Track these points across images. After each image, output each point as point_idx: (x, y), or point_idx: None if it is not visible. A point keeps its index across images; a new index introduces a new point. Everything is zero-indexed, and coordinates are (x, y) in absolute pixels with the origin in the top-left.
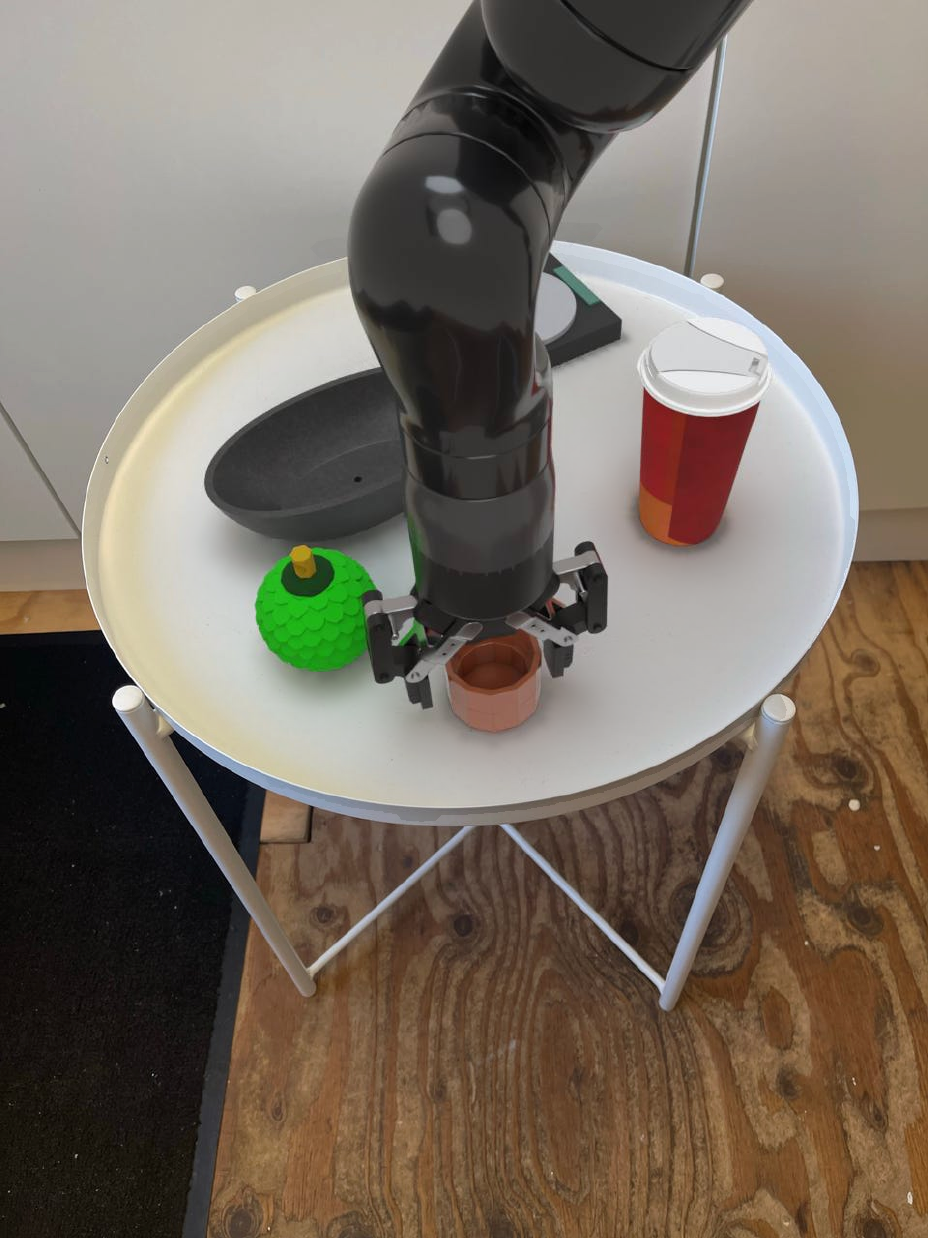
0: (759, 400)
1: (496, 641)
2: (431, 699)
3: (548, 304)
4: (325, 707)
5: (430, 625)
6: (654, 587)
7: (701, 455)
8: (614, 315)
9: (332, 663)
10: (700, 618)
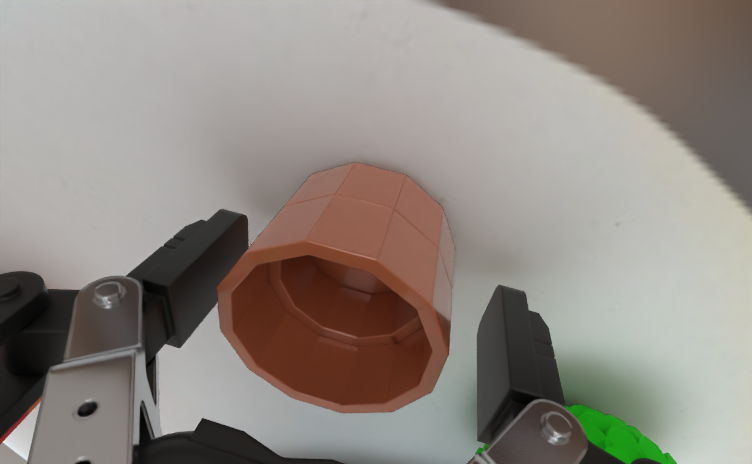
0: None
1: (316, 327)
2: (504, 309)
3: None
4: (642, 357)
5: None
6: (80, 257)
7: None
8: None
9: (620, 445)
10: (15, 182)
